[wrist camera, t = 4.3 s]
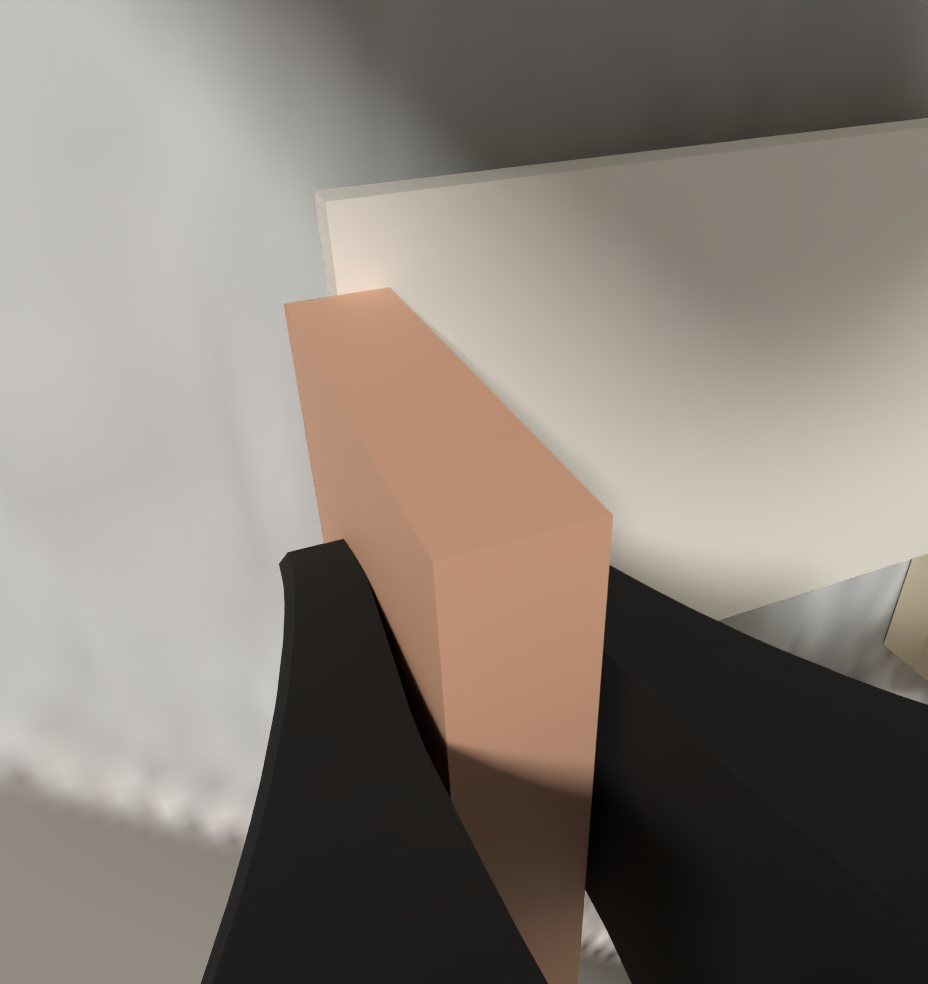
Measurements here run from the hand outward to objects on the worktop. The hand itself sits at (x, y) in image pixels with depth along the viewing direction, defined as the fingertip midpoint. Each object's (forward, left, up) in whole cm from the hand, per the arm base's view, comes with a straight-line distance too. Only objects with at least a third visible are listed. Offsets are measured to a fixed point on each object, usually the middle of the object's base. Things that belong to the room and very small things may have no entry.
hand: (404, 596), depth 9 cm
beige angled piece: (-7, 0, -2) cm, 7 cm away
